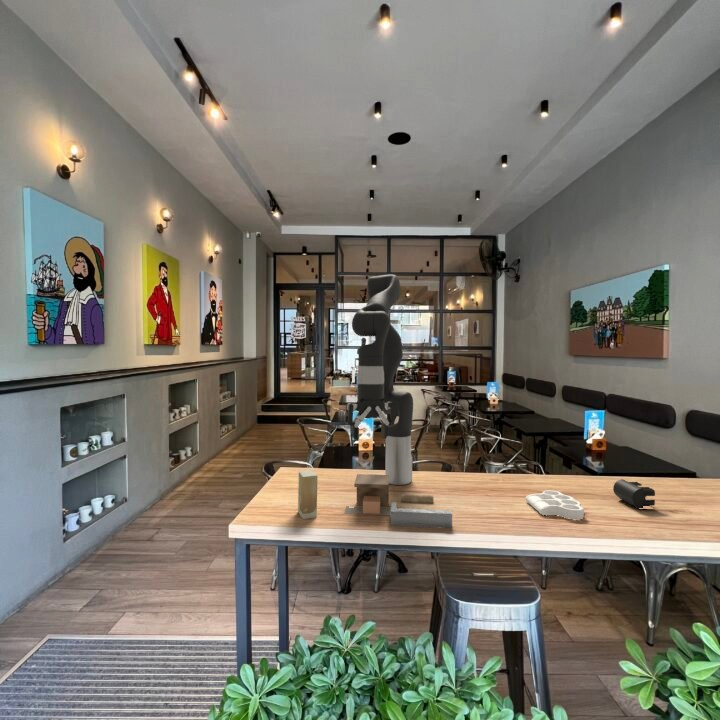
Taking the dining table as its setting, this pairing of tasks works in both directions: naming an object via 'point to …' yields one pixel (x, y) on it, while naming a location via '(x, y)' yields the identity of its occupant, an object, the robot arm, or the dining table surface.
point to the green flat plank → (360, 511)
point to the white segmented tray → (556, 504)
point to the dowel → (417, 498)
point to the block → (371, 504)
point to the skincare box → (307, 494)
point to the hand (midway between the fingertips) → (370, 439)
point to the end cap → (633, 493)
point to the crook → (420, 517)
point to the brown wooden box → (372, 487)
